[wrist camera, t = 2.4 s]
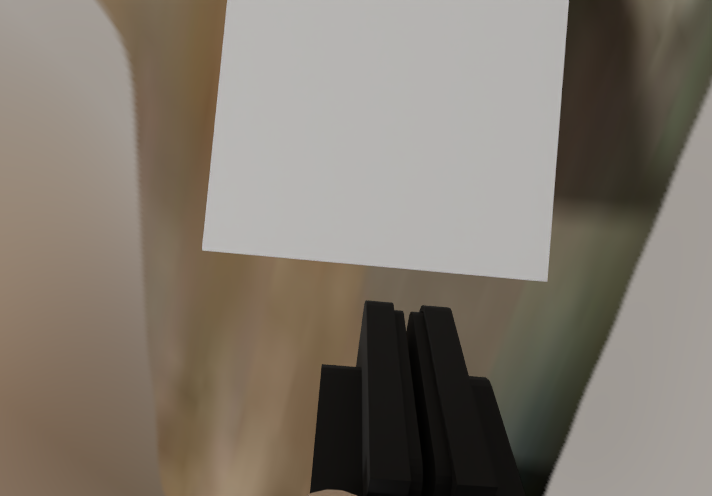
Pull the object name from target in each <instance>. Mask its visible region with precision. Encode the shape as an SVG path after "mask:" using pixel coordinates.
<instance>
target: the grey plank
mask: <svg viewBox="0 0 712 496" xmlns="http://www.w3.org/2000/svg"><path fill="white" fill-rule="evenodd" d="M568 6H569V0H227V9H226V19H225V29H224V39H223V49H222V58H221V68H220V78H219V88H218V98H217V108H216V117H215V127H214V137H213V147H212V157H211V167H210V176H209V186H208V196H207V206H206V216H205V226H204V235H203V245H202V250H205V251H214V252H225V253H236V254H247V255H258V256H269V257H280V258H291V259H302V260H313V261H324V262H335V263H346V264H357V265H368V266H379V267H390V268H401V269H412V270H423V271H434V272H445V273H456V274H467V275H478V276H489V277H500V278H511V279H522V280H533V281H546V282H547V278H548V265H549V252H550V239H551V226H552V213H553V200H554V187H555V174H556V161H557V148H558V135H559V122H560V109H561V96H562V83H563V70H564V57H565V45H566V32H567V19H568Z"/></svg>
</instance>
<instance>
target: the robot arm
mask: <svg viewBox="0 0 712 496" xmlns="http://www.w3.org/2000/svg"><path fill="white" fill-rule="evenodd" d="M307 496H526V495H525V492H524V489H523V485H522V482H521V479H520V476H519V472H518V469H517V466H516V463H515V460H514V456H513V453H512V450H511V447H510V444H509V440H508V437H507V434H506V431H505V427H504V424H503V421H502V418H501V415H500V411H499V408H498V405H497V402H496V399H495V395H494V392H493V389H492V386H491V384H490V381H489V380H488V379H487V378H485V377H473V376H469V375H468V372H467V368H466V364H465V360H464V356H463V353H462V349H461V345H460V341H459V337H458V334H457V330H456V326H455V322H454V318H453V315H452V311H451V309H450V308H447V307H436V306H424V305H422V306H421V308H420V311H419V312H411V313H410V315H409V320H408V326H407V331H406V328H405V320H404V313H403V311H397V310H394V305H393V303H389V302H378V301H365V304H364V311H363V319H362V326H361V334H360V341H359V349H358V356H357V364H356V367H349V366H336V365H324V364H322V368H321V379H320V390H319V401H318V412H317V423H316V434H315V445H314V456H313V467H312V478H311V489H310V494H309V495H307Z"/></svg>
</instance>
